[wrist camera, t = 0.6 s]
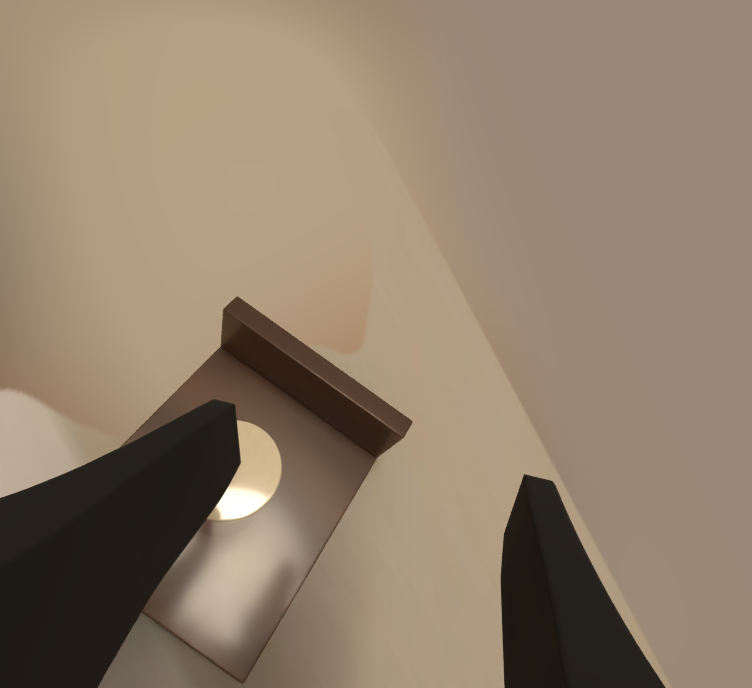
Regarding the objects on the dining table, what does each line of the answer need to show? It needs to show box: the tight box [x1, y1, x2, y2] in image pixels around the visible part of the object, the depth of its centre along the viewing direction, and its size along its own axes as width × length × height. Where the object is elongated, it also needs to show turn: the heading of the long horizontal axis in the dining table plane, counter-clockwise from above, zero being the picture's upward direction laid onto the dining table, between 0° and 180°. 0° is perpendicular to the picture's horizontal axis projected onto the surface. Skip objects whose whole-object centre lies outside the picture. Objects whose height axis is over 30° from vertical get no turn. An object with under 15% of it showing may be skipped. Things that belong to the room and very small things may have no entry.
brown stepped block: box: [120, 297, 412, 684], centre depth 24 cm, size 14×12×7 cm
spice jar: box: [198, 420, 282, 537], centre depth 21 cm, size 4×4×7 cm
